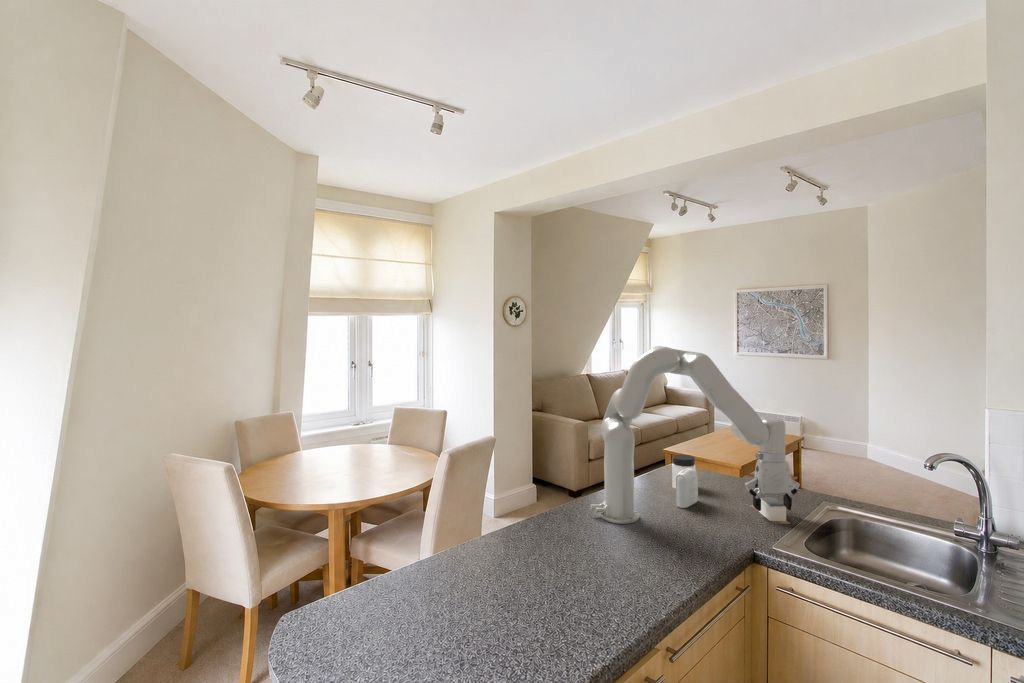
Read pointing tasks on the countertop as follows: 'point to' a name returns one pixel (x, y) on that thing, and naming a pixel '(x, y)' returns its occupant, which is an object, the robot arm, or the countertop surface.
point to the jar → (681, 465)
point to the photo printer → (686, 488)
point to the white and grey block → (772, 509)
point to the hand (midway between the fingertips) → (772, 509)
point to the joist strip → (776, 521)
